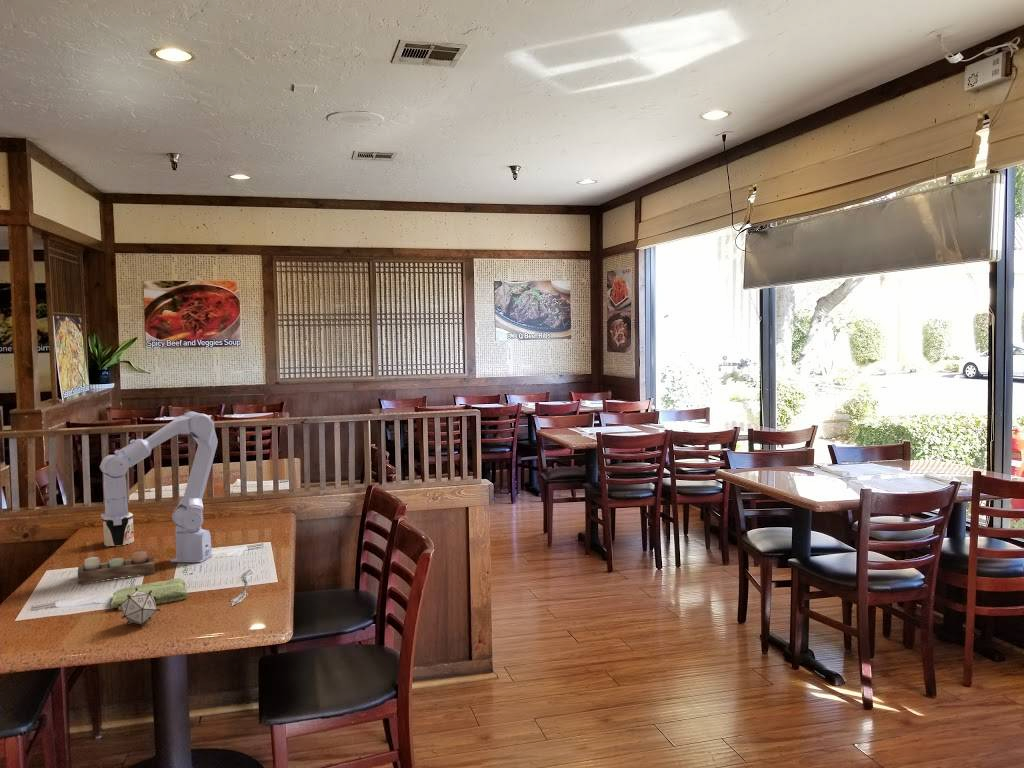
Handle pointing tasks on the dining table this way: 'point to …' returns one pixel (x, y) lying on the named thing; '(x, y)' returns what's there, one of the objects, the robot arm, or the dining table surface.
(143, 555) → the terracotta button
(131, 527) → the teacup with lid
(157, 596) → the washcloth
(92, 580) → the button panel
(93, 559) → the cream button
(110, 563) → the sage button
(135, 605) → the game die
